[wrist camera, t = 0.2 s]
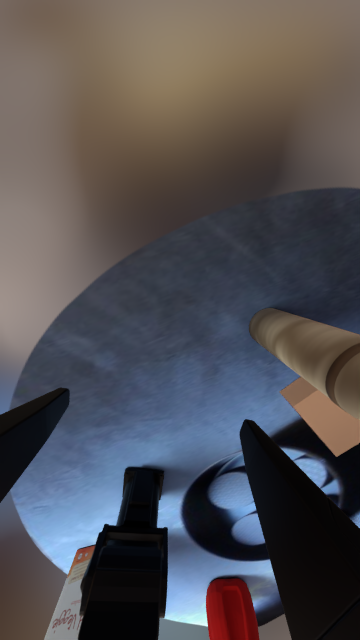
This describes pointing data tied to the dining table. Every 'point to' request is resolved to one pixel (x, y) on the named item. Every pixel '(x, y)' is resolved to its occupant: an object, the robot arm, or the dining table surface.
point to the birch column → (314, 353)
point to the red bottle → (230, 611)
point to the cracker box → (70, 600)
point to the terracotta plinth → (323, 416)
